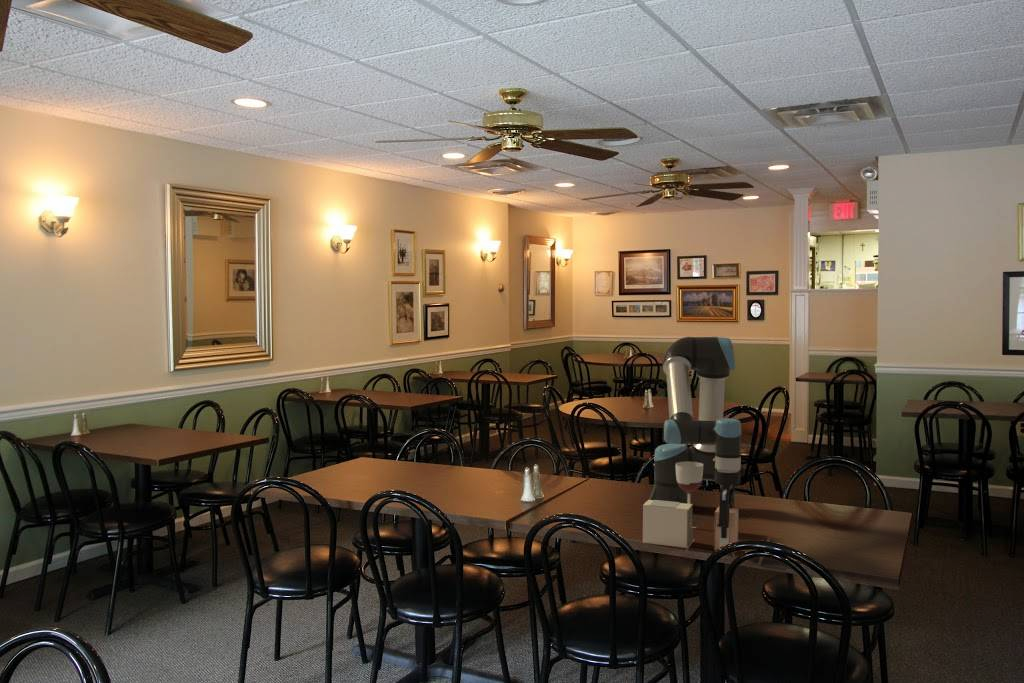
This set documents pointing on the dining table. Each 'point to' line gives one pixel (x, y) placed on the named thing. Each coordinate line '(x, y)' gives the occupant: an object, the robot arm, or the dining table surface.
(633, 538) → the dining table surface
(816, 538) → the dining table surface
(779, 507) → the dining table surface
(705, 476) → the robot arm
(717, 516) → the stub
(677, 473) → the wineglass
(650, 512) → the beige rectangular block
